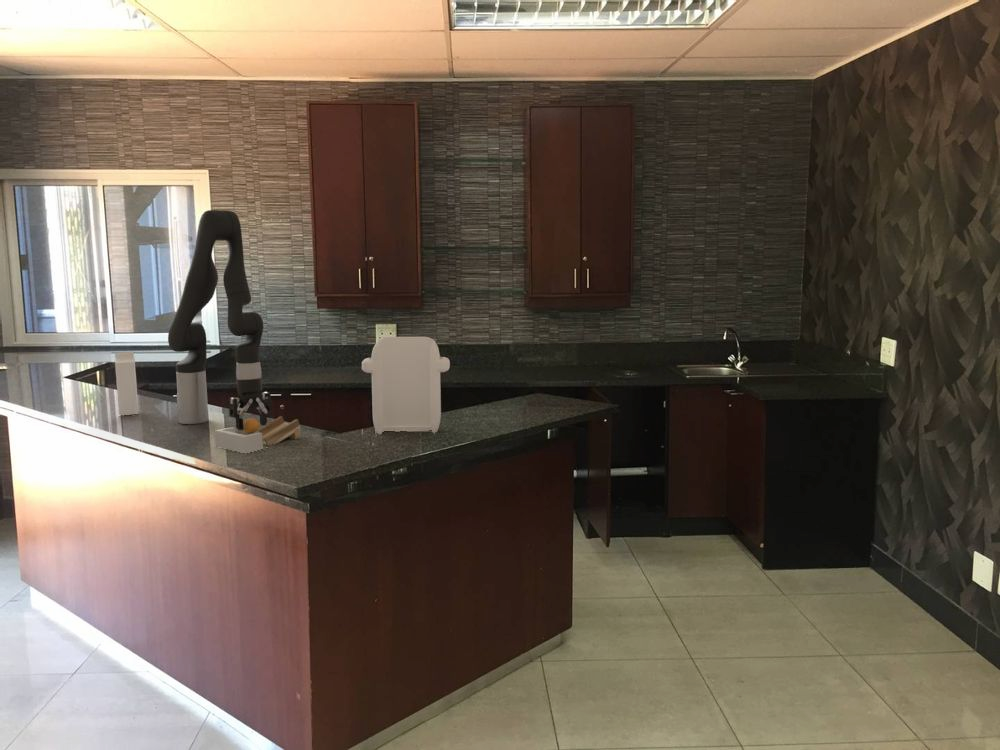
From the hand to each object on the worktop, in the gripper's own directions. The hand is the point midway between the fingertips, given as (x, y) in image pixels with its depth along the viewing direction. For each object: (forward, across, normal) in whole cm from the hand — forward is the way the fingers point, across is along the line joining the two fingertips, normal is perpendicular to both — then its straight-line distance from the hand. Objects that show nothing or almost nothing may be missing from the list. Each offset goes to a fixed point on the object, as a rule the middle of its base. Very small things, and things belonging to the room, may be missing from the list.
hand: (252, 427), depth 260 cm
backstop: (+2, +14, +13) cm, 19 cm away
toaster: (+3, -32, +37) cm, 49 cm away
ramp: (+2, +1, +13) cm, 13 cm away
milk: (+1, +6, -61) cm, 62 cm away
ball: (0, 0, 0) cm, 1 cm away
